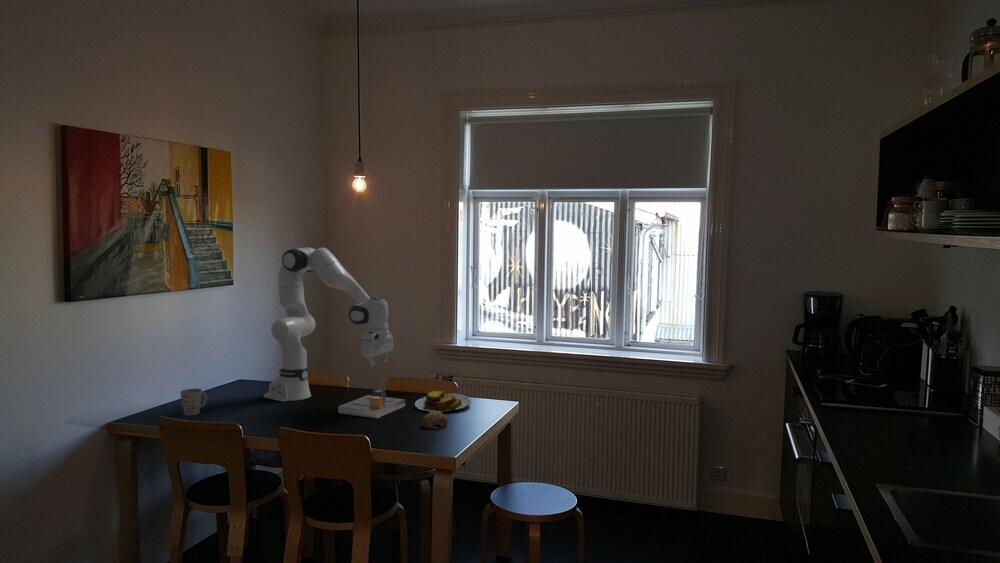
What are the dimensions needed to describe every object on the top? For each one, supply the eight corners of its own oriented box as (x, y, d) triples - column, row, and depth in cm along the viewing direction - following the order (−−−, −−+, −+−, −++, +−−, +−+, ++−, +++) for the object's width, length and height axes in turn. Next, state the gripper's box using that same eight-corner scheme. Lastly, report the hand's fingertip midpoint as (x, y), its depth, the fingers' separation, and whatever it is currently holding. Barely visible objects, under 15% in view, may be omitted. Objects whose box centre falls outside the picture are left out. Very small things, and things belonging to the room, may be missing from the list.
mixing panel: (338, 413, 288) (338, 406, 288) (368, 401, 308) (368, 394, 308) (376, 418, 280) (376, 411, 279) (405, 406, 300) (405, 399, 299)
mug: (176, 415, 284) (175, 392, 283) (199, 407, 296) (198, 385, 295) (191, 417, 281) (191, 393, 280) (214, 409, 293) (213, 387, 292)
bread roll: (425, 438, 265) (427, 422, 262) (418, 421, 274) (420, 405, 270) (448, 435, 269) (451, 419, 266) (441, 418, 278) (443, 403, 274)
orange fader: (369, 406, 286) (369, 397, 286) (373, 405, 289) (373, 395, 289) (379, 408, 284) (379, 398, 284) (383, 406, 287) (383, 397, 287)
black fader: (372, 400, 298) (372, 391, 297) (376, 398, 301) (375, 389, 300) (381, 401, 296) (381, 392, 295) (385, 399, 298) (385, 390, 298)
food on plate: (480, 410, 294) (479, 395, 293) (427, 418, 282) (427, 402, 282) (456, 397, 316) (456, 383, 316) (407, 403, 305) (406, 389, 304)
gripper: (385, 329, 307) (385, 359, 308) (358, 336, 288) (358, 367, 289) (397, 330, 304) (396, 360, 305) (370, 337, 285) (370, 368, 286)
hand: (378, 364), depth 297 cm, fingers open, 8 cm apart
